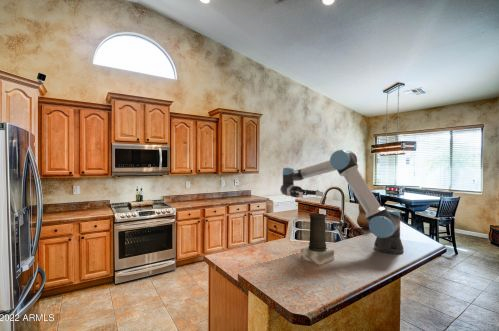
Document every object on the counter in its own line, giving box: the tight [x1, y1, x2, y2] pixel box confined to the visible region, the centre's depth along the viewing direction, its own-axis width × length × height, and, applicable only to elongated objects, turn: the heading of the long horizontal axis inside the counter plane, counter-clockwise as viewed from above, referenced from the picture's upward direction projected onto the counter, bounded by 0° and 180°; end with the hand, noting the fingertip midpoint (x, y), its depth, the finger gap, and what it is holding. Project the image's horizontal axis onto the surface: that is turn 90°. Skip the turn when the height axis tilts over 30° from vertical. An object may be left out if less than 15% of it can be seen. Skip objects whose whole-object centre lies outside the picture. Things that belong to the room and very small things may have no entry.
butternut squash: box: [356, 201, 370, 231], centre depth 198 cm, size 14×13×25 cm
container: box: [308, 212, 327, 252], centre depth 133 cm, size 9×9×18 cm
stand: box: [300, 246, 335, 266], centre depth 133 cm, size 12×12×5 cm
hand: (312, 194), depth 147 cm, fingers open, 13 cm apart
